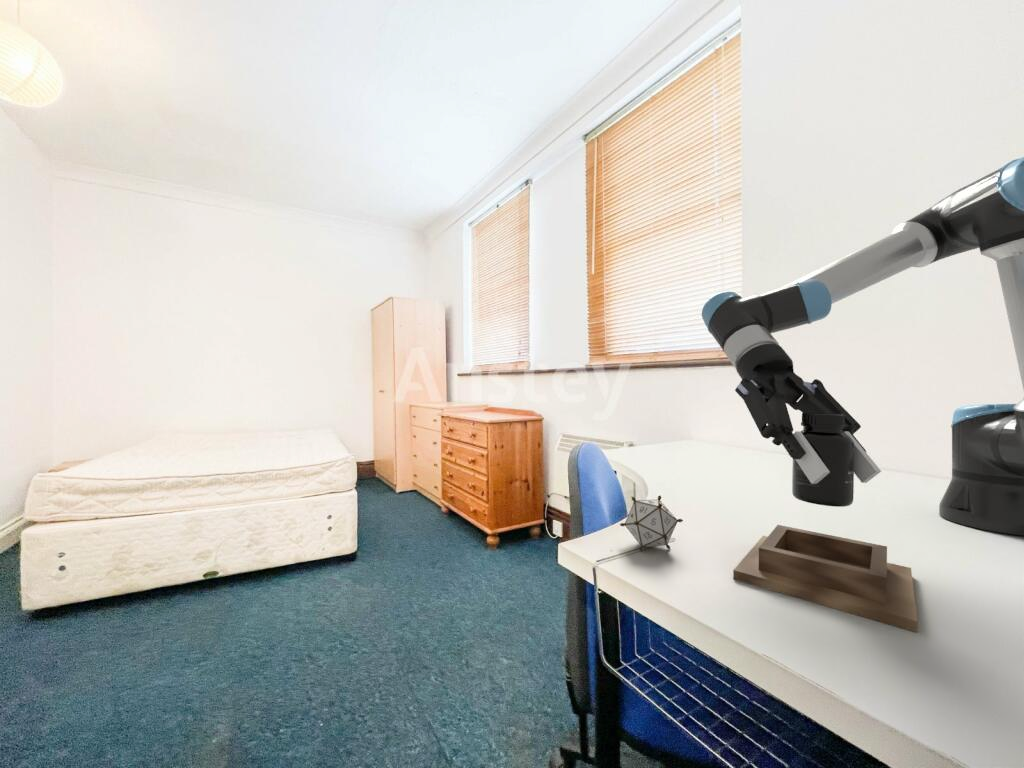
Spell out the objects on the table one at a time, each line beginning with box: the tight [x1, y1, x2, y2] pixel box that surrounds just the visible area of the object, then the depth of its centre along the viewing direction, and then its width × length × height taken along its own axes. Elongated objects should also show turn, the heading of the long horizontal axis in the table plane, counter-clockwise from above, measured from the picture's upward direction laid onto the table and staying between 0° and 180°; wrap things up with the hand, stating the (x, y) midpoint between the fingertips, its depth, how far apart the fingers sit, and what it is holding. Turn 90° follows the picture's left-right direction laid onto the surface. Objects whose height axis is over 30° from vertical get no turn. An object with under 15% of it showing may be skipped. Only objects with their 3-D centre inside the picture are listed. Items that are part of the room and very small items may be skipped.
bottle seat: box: [732, 524, 918, 633], centre depth 58 cm, size 18×18×4 cm
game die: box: [619, 495, 684, 551], centre depth 68 cm, size 9×8×10 cm
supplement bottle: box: [791, 412, 855, 508], centre depth 58 cm, size 7×7×12 cm
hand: (846, 477), depth 54 cm, fingers closed on supplement bottle, 7 cm apart
